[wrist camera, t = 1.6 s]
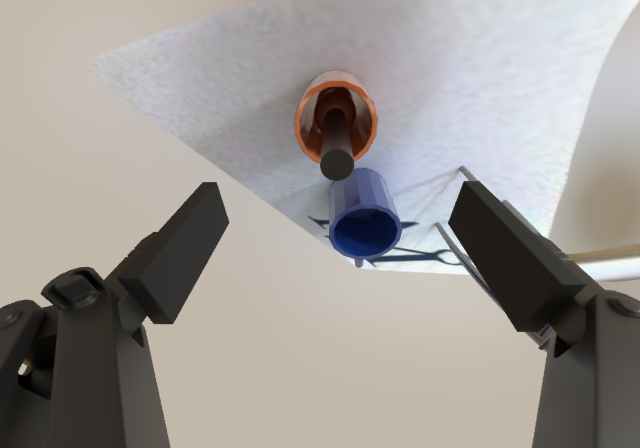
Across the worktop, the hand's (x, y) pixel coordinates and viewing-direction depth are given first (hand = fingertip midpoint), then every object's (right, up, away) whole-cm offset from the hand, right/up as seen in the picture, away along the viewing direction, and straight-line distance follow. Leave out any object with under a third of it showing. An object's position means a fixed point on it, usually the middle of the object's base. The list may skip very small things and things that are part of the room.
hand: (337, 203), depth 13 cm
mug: (+5, +2, +27) cm, 27 cm away
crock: (+1, +14, +18) cm, 23 cm away
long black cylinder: (+1, +13, +17) cm, 22 cm away
